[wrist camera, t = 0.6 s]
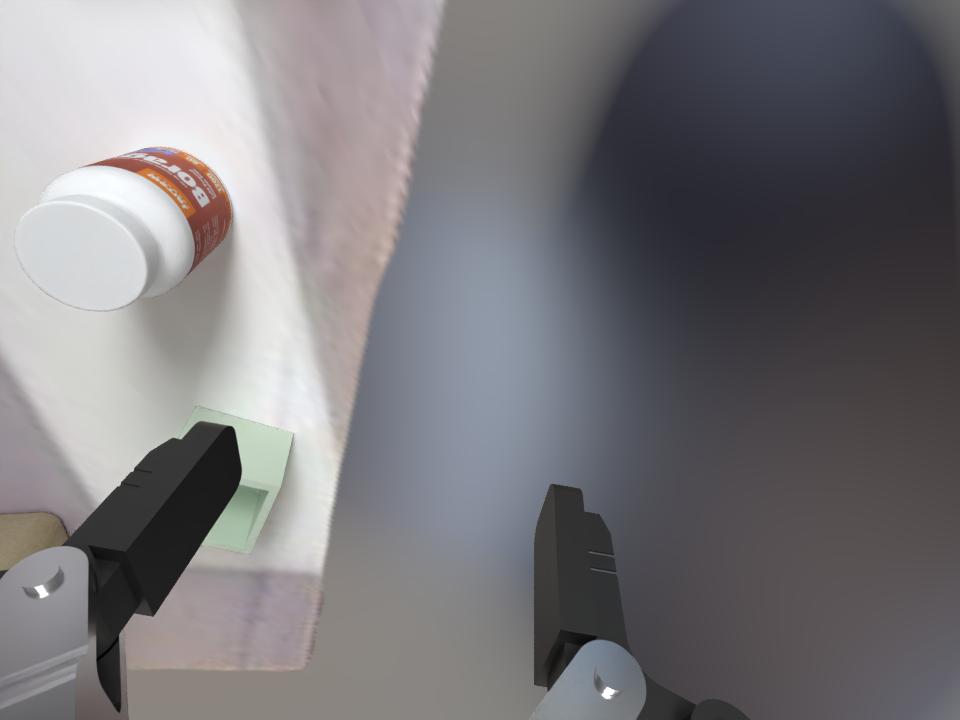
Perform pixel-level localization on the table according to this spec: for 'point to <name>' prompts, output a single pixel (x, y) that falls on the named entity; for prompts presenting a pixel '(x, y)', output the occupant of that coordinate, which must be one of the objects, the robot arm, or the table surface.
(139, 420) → the table surface
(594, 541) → the robot arm
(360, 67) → the table surface
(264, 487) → the pale green bin
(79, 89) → the table surface
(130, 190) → the pill bottle
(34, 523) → the flower pot
